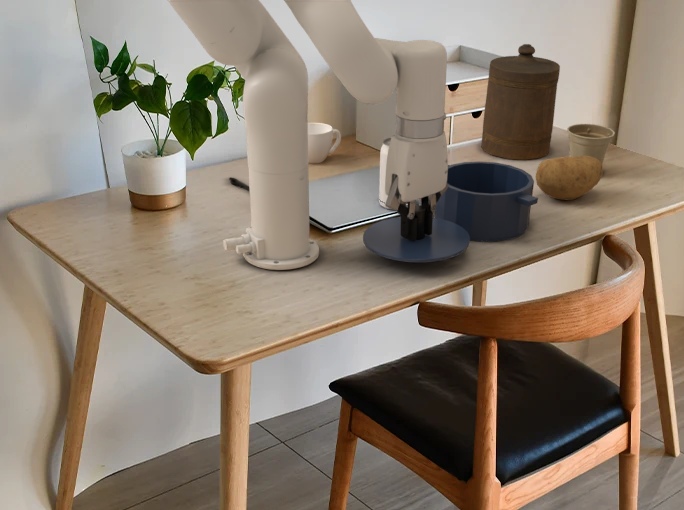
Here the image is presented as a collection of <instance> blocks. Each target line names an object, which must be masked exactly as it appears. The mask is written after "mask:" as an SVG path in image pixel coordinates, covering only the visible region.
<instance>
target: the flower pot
mask: <svg viewBox="0 0 684 510" xmlns="http://www.w3.org/2000/svg"><path fill="white" fill-rule="evenodd" d="M566 131H567V134H568V139H569V156H591V157H594V158H596V159H598V160H600V161H601V163H602V165H603V163H604V160H605V157H606V154H607V151H608V147H609V145H610V143H611V141H612V140H613V139H612V138H613V137H615V135H616V132H615V130H614V129H612V128H610V127H607V126H605V125H599V124H594V123H576V124H572V125H569V126H568V127H567V128H566Z"/></svg>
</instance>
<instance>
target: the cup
mask: <svg viewBox="0 0 684 510" xmlns="http://www.w3.org/2000/svg"><path fill="white" fill-rule="evenodd" d="M334 134H335V136H336V140H335V142H334V144H333V140H334V139H333V138H334ZM341 142H342V134H341V132H340V130H339V129H336V128H333V126H331V124H327V123H323V122H308V164H319V163H323V162H324V161H325V160H326V158H327V157H328V155H330V154H332V153H333V152H335V151H336V150H337V149H338V147H339V146H340V144H341Z"/></svg>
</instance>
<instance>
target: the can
mask: <svg viewBox="0 0 684 510" xmlns="http://www.w3.org/2000/svg"><path fill="white" fill-rule="evenodd" d="M390 141H391V137H387V138H385V139H383V141H382V146H381V148H380V150H379V151H380V153H379V156H380V157H379V182H378V183H379V184H378V185H379V188H378V195H379V196H378V203H379V205H380V206H381V207H382V208H383V209H385V210H390V211H395V210H394V209H391V208H389V207H386V205H385V204H384V203H382V202H380V200H381V201H383V202H385V203H386V201H387V198H388V195H386V192H385V177H386V164H387V156H388V150H389V145H390ZM379 199H380V200H379ZM398 201H399V199H398ZM406 204H408V203H406ZM406 207H407V208H408V205H406Z"/></svg>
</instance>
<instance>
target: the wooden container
mask: <svg viewBox="0 0 684 510" xmlns="http://www.w3.org/2000/svg"><path fill="white" fill-rule="evenodd" d="M517 52H518V55H506V56H500V57H499V56H498V57H496V58H494V59H491V61H490V63H489V69H488V79H487V87H486V96H485V103H484V111H483V112H484V113H483V122H482V135H481V145H480V146H481V149H482V150H483V151H484V152H486V153H487V154H488V155H492V156H494V157H498V158H502V159H508V160H520V161H521V160H534V159H539V158H542V157H545V156H547V155H548V154H549V153H550V150H551V141H552V134H553V129H554V120H555V119H554V118H555V107H556V99H557V91H558V83H559V79H560V72H561V71H560V70H561V65H560V64H559V63H558V62H556V61H554V60H552V59H548V58H543V57H537V56H534V54H535V53H536V49H535V47H534V46H532V44H529V43H523V44H522V45H520V46H519V47H518V50H517Z"/></svg>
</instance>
